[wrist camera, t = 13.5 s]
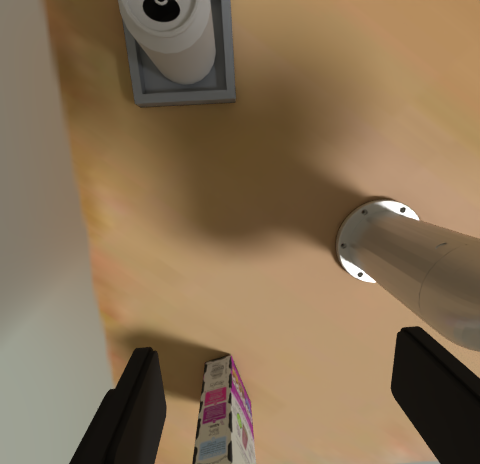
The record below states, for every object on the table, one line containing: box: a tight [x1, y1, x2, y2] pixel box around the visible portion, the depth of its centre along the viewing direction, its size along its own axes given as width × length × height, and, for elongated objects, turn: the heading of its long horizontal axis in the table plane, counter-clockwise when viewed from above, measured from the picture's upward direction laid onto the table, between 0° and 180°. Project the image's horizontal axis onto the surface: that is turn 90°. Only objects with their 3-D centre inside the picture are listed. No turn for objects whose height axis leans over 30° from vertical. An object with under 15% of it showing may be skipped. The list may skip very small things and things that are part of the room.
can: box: [118, 0, 216, 85], centre depth 25 cm, size 8×8×12 cm
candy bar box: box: [192, 355, 256, 464], centre depth 37 cm, size 11×5×16 cm, turn 19°
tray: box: [122, 0, 236, 107], centre depth 31 cm, size 12×12×2 cm
